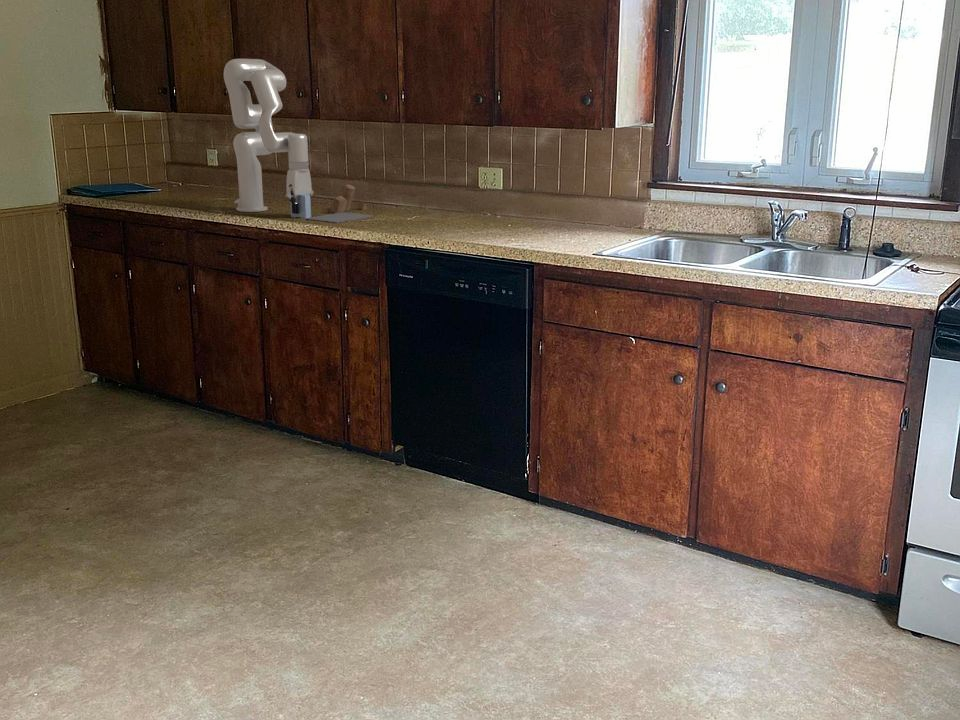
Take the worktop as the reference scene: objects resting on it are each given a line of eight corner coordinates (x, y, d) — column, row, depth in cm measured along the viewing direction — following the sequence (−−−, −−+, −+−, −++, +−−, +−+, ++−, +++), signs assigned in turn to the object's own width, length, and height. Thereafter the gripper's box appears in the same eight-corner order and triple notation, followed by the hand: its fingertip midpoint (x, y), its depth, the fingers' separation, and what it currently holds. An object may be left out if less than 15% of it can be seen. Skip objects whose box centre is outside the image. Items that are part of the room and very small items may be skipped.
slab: (290, 216, 378) (289, 194, 375) (296, 216, 380) (295, 193, 378) (305, 218, 374) (304, 195, 371) (311, 217, 376) (310, 194, 374)
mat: (305, 219, 371) (305, 218, 370) (342, 213, 388) (342, 212, 388) (336, 223, 362) (336, 221, 362) (372, 216, 380) (372, 215, 380)
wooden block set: (338, 219, 388) (344, 197, 383) (322, 209, 391) (328, 187, 386) (366, 213, 402) (372, 191, 397) (351, 203, 405) (357, 181, 400)
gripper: (306, 164, 380) (308, 209, 385) (276, 167, 366) (278, 214, 371) (320, 165, 376) (322, 211, 381) (290, 168, 362) (292, 216, 368)
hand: (300, 212), depth 376 cm, fingers open, 5 cm apart
